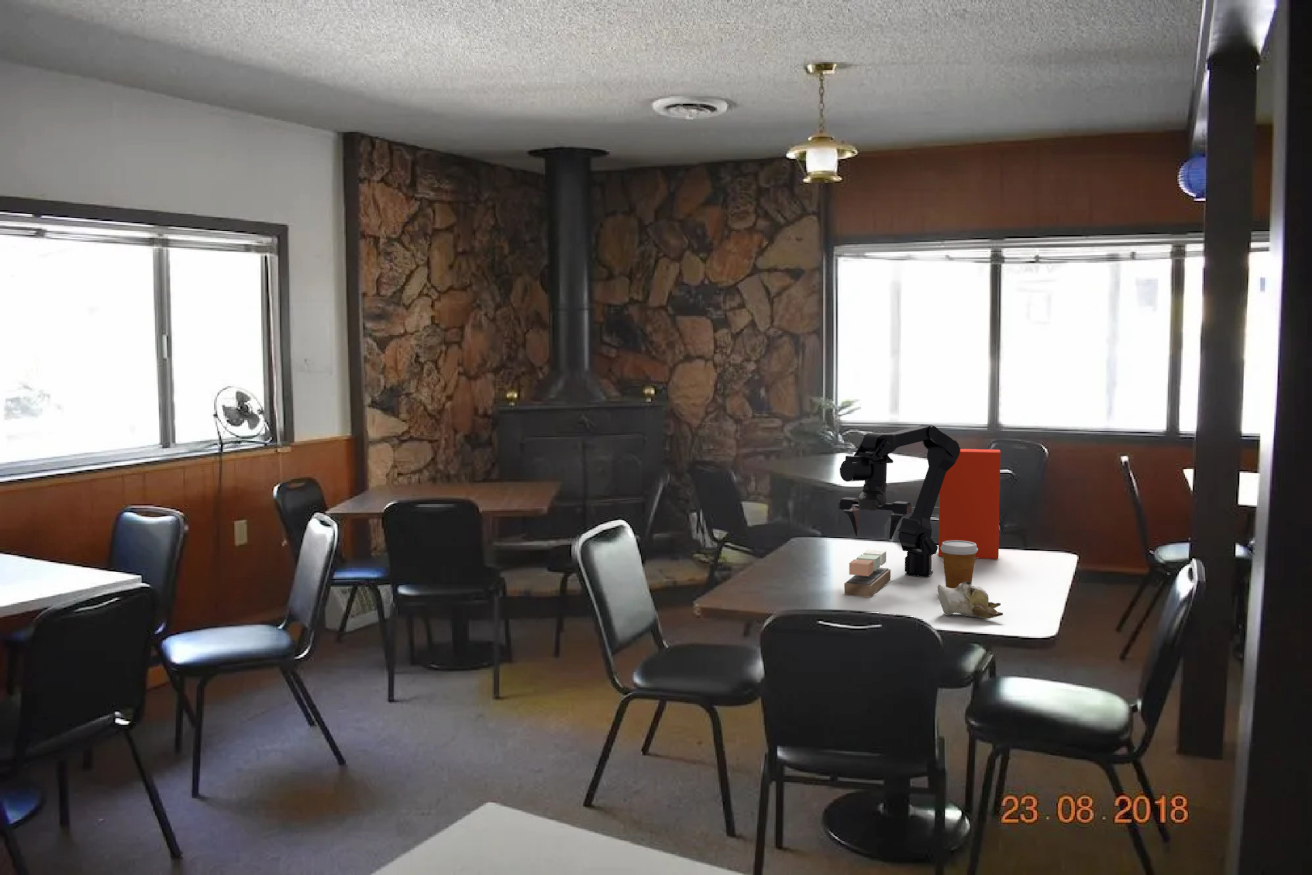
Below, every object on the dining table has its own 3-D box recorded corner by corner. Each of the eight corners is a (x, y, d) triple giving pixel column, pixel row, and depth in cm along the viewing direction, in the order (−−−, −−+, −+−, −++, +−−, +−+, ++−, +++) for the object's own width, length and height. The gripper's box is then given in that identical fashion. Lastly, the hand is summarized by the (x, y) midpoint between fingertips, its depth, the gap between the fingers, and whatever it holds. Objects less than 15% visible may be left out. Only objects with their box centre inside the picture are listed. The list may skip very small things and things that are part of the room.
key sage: (879, 566, 286) (880, 555, 285) (875, 570, 281) (875, 559, 281) (861, 565, 288) (861, 554, 288) (856, 569, 283) (856, 557, 283)
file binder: (998, 559, 319) (1000, 452, 316) (938, 556, 324) (939, 451, 321) (997, 554, 327) (999, 449, 324) (938, 551, 332) (940, 448, 329)
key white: (886, 561, 292) (886, 551, 292) (881, 565, 288) (881, 554, 287) (868, 560, 294) (868, 549, 294) (863, 563, 290) (863, 553, 289)
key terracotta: (873, 572, 279) (873, 560, 279) (868, 576, 275) (868, 564, 275) (854, 570, 282) (854, 559, 281) (849, 574, 277) (849, 562, 277)
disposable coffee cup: (957, 594, 276) (958, 548, 275) (932, 587, 285) (932, 542, 284) (985, 590, 281) (986, 544, 280) (959, 582, 289) (960, 538, 288)
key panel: (890, 580, 293) (890, 568, 293) (871, 597, 274) (871, 584, 274) (865, 578, 296) (865, 565, 296) (844, 594, 277) (844, 581, 277)
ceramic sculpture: (938, 573, 261) (1002, 579, 258) (935, 607, 262) (999, 614, 259) (938, 583, 251) (1005, 590, 247) (935, 619, 252) (1002, 626, 248)
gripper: (832, 480, 286) (831, 538, 288) (902, 485, 278) (900, 545, 279) (845, 476, 296) (843, 532, 297) (913, 481, 288) (911, 539, 289)
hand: (873, 537), depth 290 cm, fingers open, 9 cm apart
